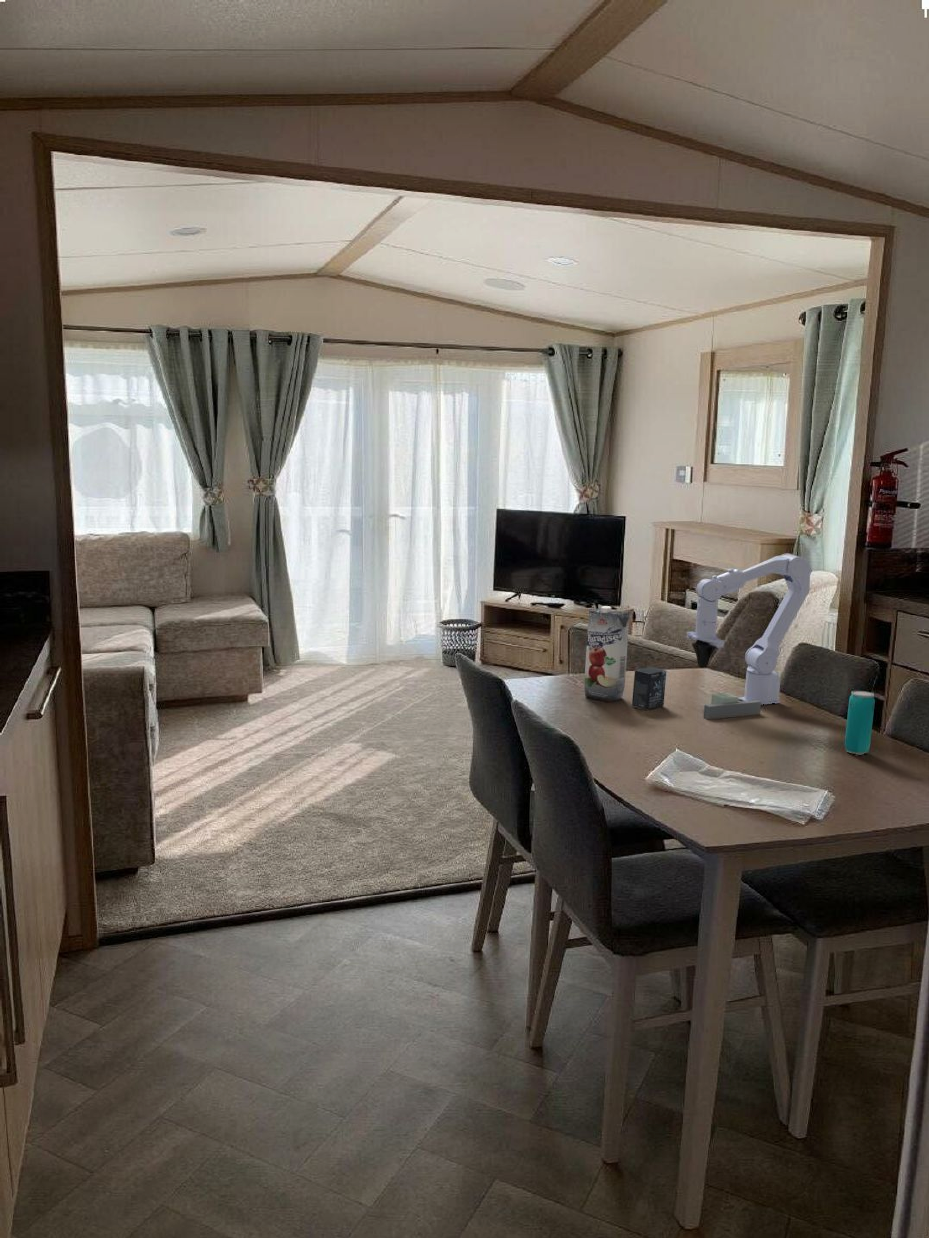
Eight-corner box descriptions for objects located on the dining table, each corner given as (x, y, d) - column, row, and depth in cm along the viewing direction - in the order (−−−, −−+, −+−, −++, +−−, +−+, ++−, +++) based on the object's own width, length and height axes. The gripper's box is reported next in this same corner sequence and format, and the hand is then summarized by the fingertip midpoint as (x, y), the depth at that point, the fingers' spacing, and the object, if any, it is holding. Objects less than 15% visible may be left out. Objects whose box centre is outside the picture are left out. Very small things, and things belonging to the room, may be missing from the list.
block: (724, 709, 278) (726, 692, 278) (736, 714, 274) (738, 696, 273) (710, 711, 276) (712, 693, 275) (722, 715, 272) (723, 698, 271)
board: (755, 712, 277) (756, 700, 276) (759, 714, 275) (761, 701, 274) (703, 717, 269) (704, 704, 269) (708, 719, 267) (709, 706, 267)
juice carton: (594, 691, 293) (600, 602, 288) (626, 698, 287) (633, 606, 282) (580, 697, 286) (585, 605, 281) (612, 703, 280) (618, 609, 275)
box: (647, 710, 274) (650, 673, 272) (631, 706, 278) (633, 669, 276) (664, 706, 279) (667, 669, 278) (647, 702, 283) (650, 666, 282)
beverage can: (868, 751, 243) (874, 692, 241) (869, 757, 238) (876, 697, 235) (843, 748, 245) (849, 689, 243) (844, 754, 240) (850, 694, 237)
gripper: (679, 617, 288) (675, 662, 291) (711, 626, 275) (707, 673, 278) (698, 616, 291) (695, 661, 294) (731, 625, 278) (727, 672, 281)
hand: (702, 667), depth 286 cm, fingers closed
